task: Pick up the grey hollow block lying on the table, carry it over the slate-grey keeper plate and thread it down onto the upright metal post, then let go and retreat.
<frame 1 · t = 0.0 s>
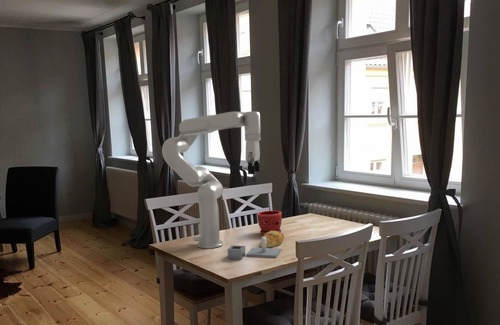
hand: (253, 172, 220), 37 cm above the table, tool pointing down, fingers open, 9 cm apart
keeper: (264, 253, 212), on the table
croissant: (271, 244, 228), on the table
plant pot: (270, 234, 248), on the table
grey hollow block: (236, 257, 208), on the table
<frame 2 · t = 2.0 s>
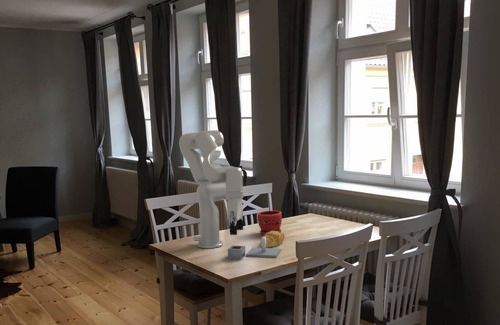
hand: (236, 232, 206), 12 cm above the table, tool pointing down, fingers open, 9 cm apart
nothing on the table moved.
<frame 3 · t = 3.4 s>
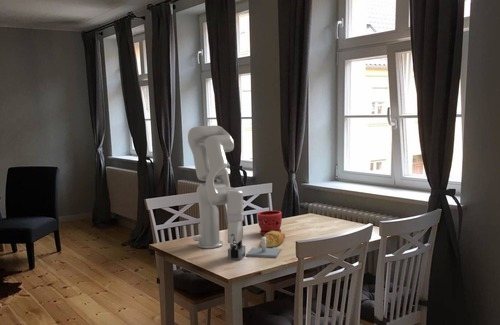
hand: (236, 255, 208), 1 cm above the table, tool pointing down, fingers closed on grey hollow block, 6 cm apart
grey hollow block: (236, 257, 208), on the table, touching gripper
everything else where it was.
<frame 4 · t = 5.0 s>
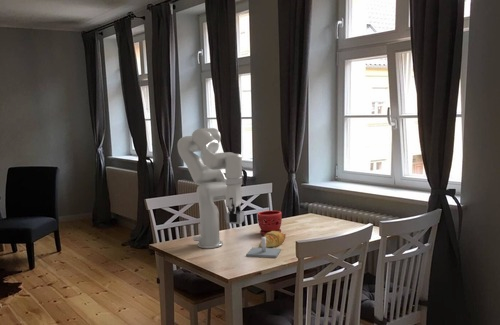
hand: (235, 220, 207), 17 cm above the table, tool pointing down, fingers closed on grey hollow block, 6 cm apart
grey hollow block: (235, 221, 207), point 16 cm above the table, touching gripper
everything else where it was.
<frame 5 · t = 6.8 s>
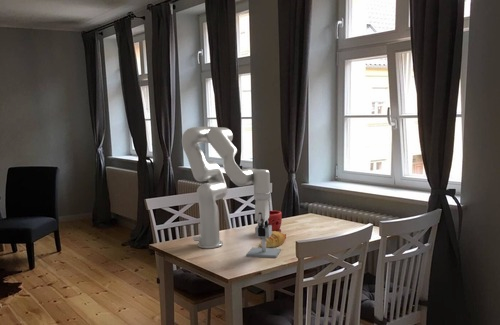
hand: (263, 234, 212), 9 cm above the table, tool pointing down, fingers closed on grey hollow block, 6 cm apart
grey hollow block: (263, 235, 212), point 8 cm above the table, touching gripper
everything else where it was.
when the fingers open (4 cm above the table, at t = 8.8 s): grey hollow block drops 2 cm, resting on keeper.
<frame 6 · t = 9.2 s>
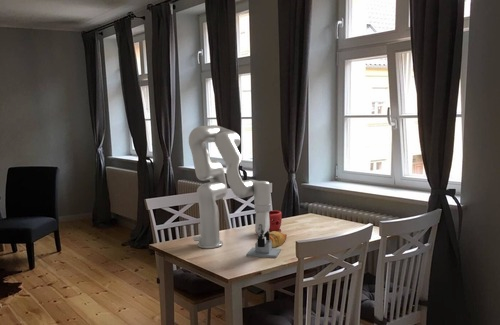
hand: (263, 244, 212), 4 cm above the table, tool pointing down, fingers open, 9 cm apart
grey hollow block: (263, 251, 212), point 1 cm above the table, touching keeper
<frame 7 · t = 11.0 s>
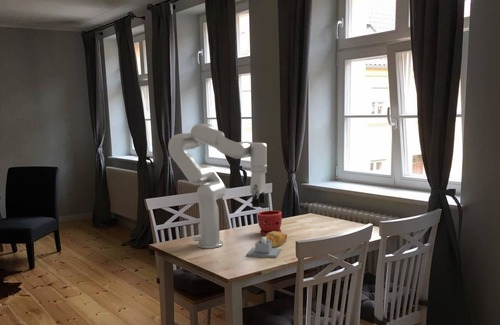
hand: (258, 204, 215), 22 cm above the table, tool pointing down, fingers open, 9 cm apart
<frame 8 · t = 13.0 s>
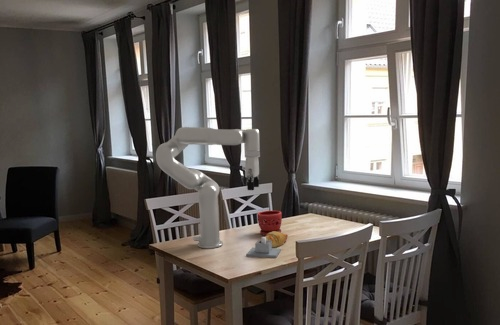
hand: (253, 188, 226), 28 cm above the table, tool pointing down, fingers open, 9 cm apart
at the end: grey hollow block 0.1 cm off-centre on the keeper, point 1.0 cm above the keeper's base; grey hollow block tilted 0°; the gripper is holding nothing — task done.
